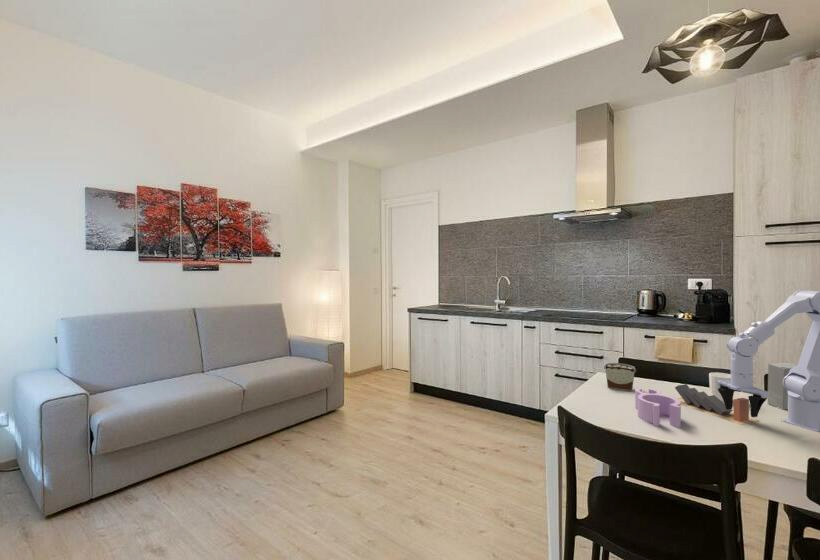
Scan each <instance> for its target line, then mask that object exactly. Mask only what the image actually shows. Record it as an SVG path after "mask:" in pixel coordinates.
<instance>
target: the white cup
mask: <svg viewBox="0 0 820 560" xmlns="http://www.w3.org/2000/svg"><path fill="white" fill-rule="evenodd" d="M708 379H709V380H708V383H709V392H710V395H709V396H712V395H715V396H716V397H717V398H718V399H720V400H721V401H722V402H723V403H724V400H723V398H722V396H721V394H720V393H719V391H718V388H720V386H717V380H723V381H729V382H731V373H726V372H725V373H724V372H709V373H708ZM733 396H734V394H733Z"/></svg>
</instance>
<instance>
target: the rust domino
mask: <svg viewBox="0 0 820 560" xmlns="http://www.w3.org/2000/svg"><path fill="white" fill-rule="evenodd" d="M733 413H734V420H736V421H739V422H740V421H745V420H749V418H750V401H749V398H747V397H739V398H733Z"/></svg>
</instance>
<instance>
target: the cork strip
mask: <svg viewBox="0 0 820 560" xmlns="http://www.w3.org/2000/svg"><path fill="white" fill-rule="evenodd" d="M676 399H677V400H679V401H680V406H683V407H687V408H690V409H693V410H695V411H697V412H701V413H705V414H707V415H711V416H713V417H717V418H720V419H723V420H726V421H728V422H732V423H734V424H738V425H740V426H744V425H749V424H754V423H758V422H760V420H758V419H755V418H753V417H749V420H745V421H740V422H739V421H736V420H734V411H731V413H730V414H726V415H719V414H718V413H717V412H716V411H715V410H714V411H709V412H708V411H707V410H706V409H705V408H704V407H700V408H697V407H696V406H695V405H694V404H686V402H685V401H684V400H683V398H682V397H678V398H676Z"/></svg>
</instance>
